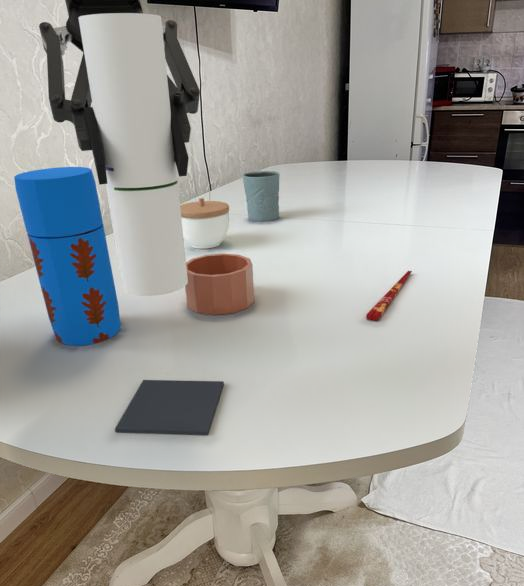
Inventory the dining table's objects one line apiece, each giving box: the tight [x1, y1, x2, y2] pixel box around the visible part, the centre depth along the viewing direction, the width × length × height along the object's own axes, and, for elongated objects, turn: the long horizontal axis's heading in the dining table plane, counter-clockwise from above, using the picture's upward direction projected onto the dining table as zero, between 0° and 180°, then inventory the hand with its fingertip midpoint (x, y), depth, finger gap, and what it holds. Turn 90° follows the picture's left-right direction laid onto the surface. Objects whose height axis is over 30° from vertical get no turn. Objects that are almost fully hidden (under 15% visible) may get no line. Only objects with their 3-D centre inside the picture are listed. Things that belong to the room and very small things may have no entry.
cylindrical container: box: [78, 13, 188, 297], centre depth 52 cm, size 7×7×25 cm
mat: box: [114, 379, 225, 436], centre depth 65 cm, size 11×11×1 cm
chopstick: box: [365, 270, 413, 322], centre depth 94 cm, size 2×24×1 cm, turn 152°
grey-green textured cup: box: [242, 170, 280, 223], centre depth 145 cm, size 10×10×12 cm
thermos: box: [13, 166, 122, 347], centre depth 80 cm, size 11×11×25 cm
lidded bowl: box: [180, 197, 230, 250], centre depth 125 cm, size 13×13×11 cm
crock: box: [184, 253, 255, 316], centre depth 93 cm, size 12×12×7 cm
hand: (143, 170), depth 49 cm, fingers closed on cylindrical container, 7 cm apart
